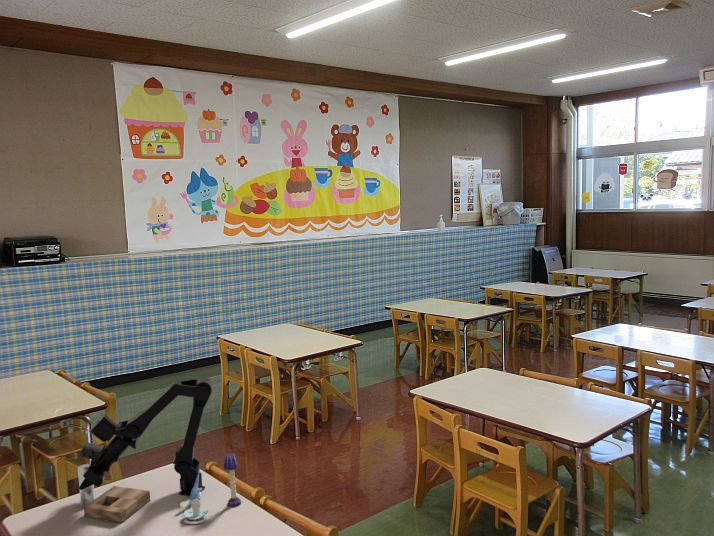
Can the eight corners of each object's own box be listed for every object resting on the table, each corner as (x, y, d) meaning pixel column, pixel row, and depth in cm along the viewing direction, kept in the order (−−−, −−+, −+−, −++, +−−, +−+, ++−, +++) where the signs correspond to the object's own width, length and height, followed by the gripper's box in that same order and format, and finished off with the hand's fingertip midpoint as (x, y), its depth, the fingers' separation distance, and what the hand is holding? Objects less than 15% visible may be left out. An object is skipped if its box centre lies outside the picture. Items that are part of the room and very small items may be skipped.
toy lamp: (237, 508, 189) (234, 458, 187) (223, 507, 190) (220, 457, 188) (243, 500, 193) (240, 451, 191) (229, 499, 194) (226, 451, 192)
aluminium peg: (97, 502, 196) (93, 464, 194) (88, 508, 192) (84, 470, 190) (87, 500, 197) (83, 463, 195) (78, 506, 193) (74, 468, 191)
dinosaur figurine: (191, 511, 195) (178, 510, 186) (201, 464, 201) (188, 460, 192) (199, 512, 194) (186, 511, 186) (208, 465, 200) (196, 461, 192)
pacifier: (203, 526, 180) (210, 514, 186) (202, 506, 179) (208, 496, 185) (180, 525, 180) (187, 514, 186) (178, 506, 179) (185, 496, 185)
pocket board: (150, 500, 195) (149, 490, 195) (121, 523, 182) (120, 512, 182) (115, 495, 199) (114, 486, 199) (84, 517, 186) (83, 506, 186)
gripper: (100, 424, 201) (69, 459, 201) (87, 446, 183) (52, 484, 182) (127, 443, 204) (95, 478, 203) (116, 467, 186) (82, 505, 185)
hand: (81, 485), depth 193 cm, fingers closed on aluminium peg, 4 cm apart
